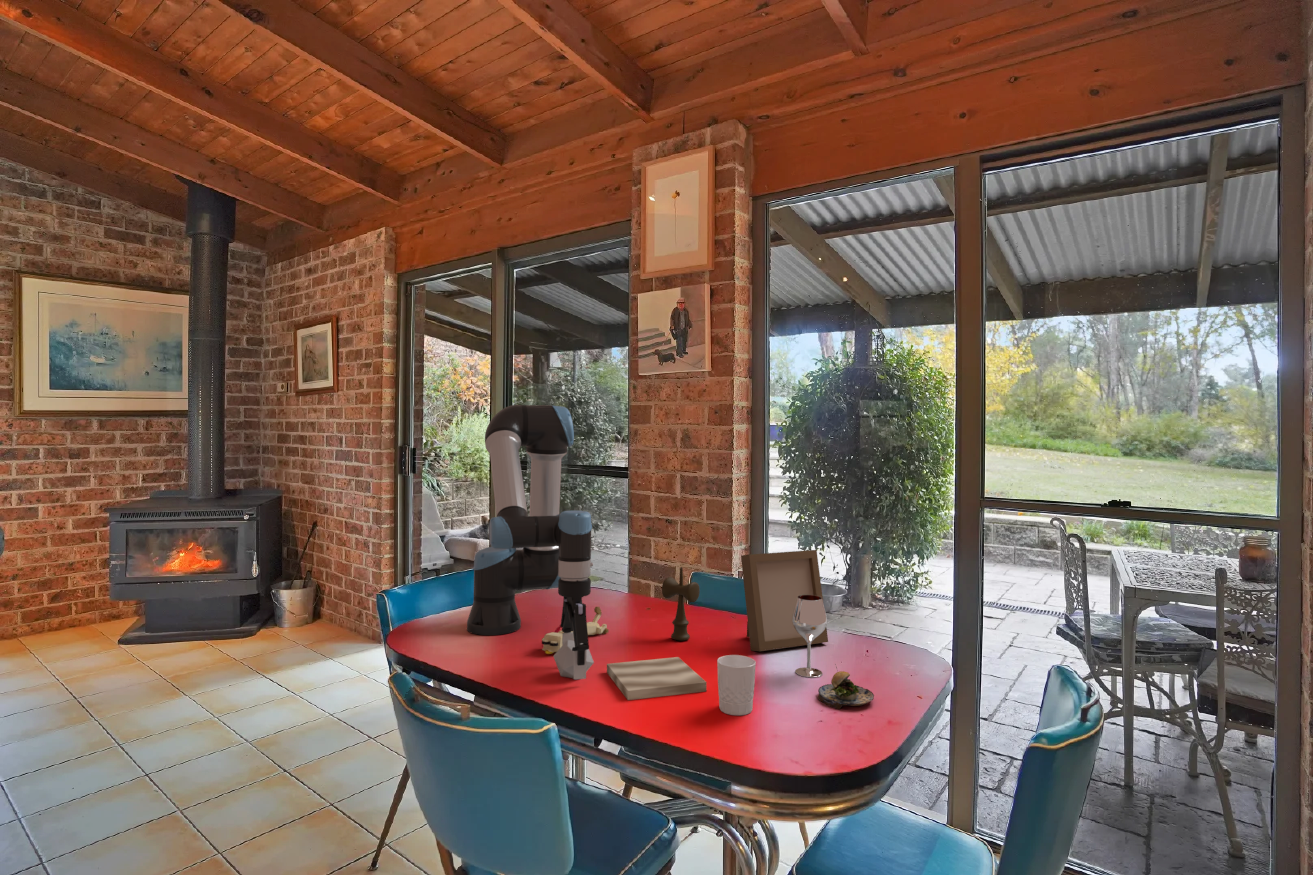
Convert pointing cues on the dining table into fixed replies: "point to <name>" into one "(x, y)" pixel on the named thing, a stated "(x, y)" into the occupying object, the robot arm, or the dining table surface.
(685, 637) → the kendama
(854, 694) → the burger
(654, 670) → the birch board
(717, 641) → the dining table surface
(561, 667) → the die
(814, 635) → the wineglass
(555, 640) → the cat figure
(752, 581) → the photo frame
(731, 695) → the white cup
